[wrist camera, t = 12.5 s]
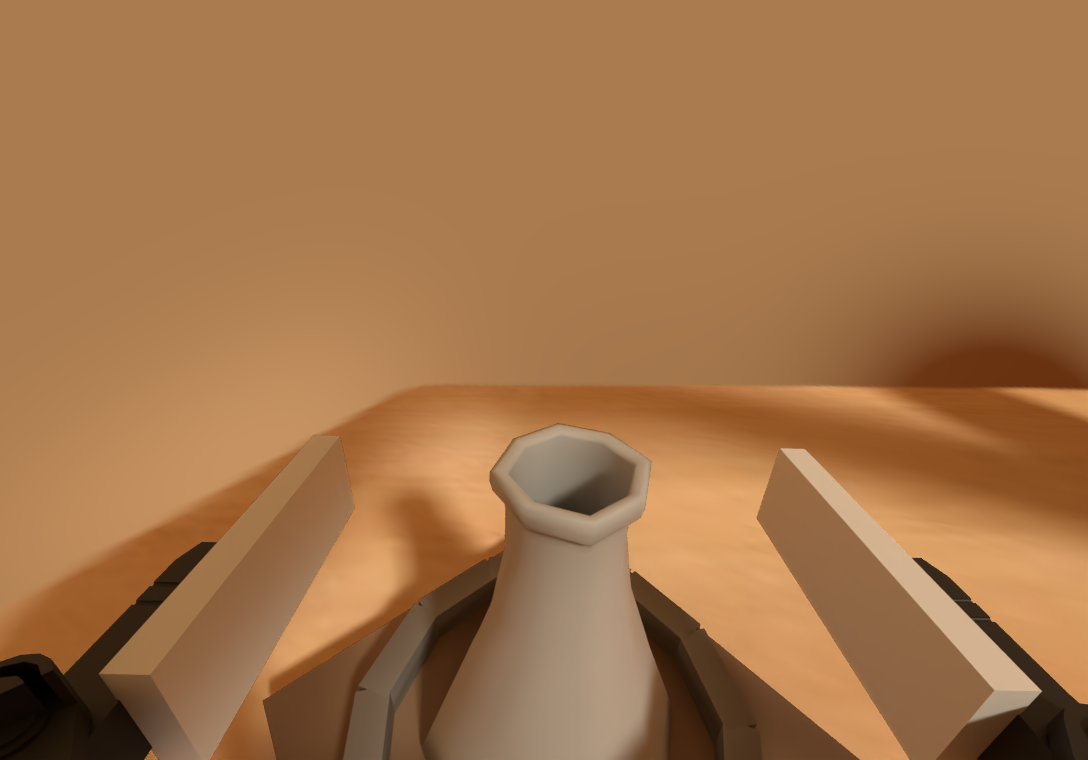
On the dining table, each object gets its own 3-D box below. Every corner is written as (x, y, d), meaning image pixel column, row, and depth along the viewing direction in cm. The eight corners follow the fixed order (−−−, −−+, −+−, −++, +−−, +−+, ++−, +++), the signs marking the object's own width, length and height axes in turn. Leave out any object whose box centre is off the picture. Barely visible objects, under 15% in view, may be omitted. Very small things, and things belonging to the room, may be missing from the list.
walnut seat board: (559, 537, 22) (562, 496, 21) (842, 784, 13) (875, 738, 12) (274, 726, 14) (252, 678, 13) (508, 1665, 5) (508, 1777, 4)
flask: (377, 759, 12) (304, 482, 8) (531, 586, 17) (538, 365, 13) (595, 1034, 8) (688, 790, 4) (706, 705, 14) (797, 449, 9)
